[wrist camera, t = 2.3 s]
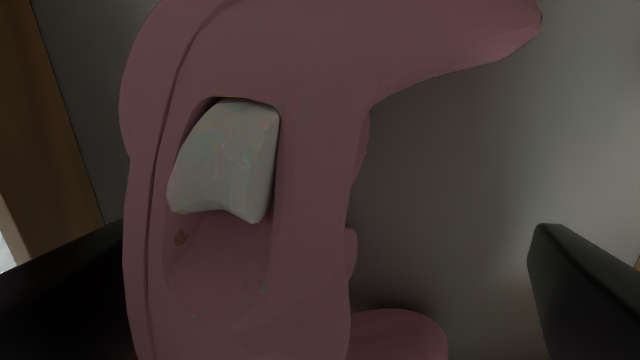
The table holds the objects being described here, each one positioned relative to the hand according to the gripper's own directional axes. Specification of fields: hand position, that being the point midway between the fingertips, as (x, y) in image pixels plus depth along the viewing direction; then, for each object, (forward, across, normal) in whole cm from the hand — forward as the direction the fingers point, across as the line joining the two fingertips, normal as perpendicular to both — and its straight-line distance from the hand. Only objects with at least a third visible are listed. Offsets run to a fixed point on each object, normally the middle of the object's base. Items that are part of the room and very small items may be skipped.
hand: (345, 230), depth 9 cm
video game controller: (+2, 0, 0) cm, 2 cm away
